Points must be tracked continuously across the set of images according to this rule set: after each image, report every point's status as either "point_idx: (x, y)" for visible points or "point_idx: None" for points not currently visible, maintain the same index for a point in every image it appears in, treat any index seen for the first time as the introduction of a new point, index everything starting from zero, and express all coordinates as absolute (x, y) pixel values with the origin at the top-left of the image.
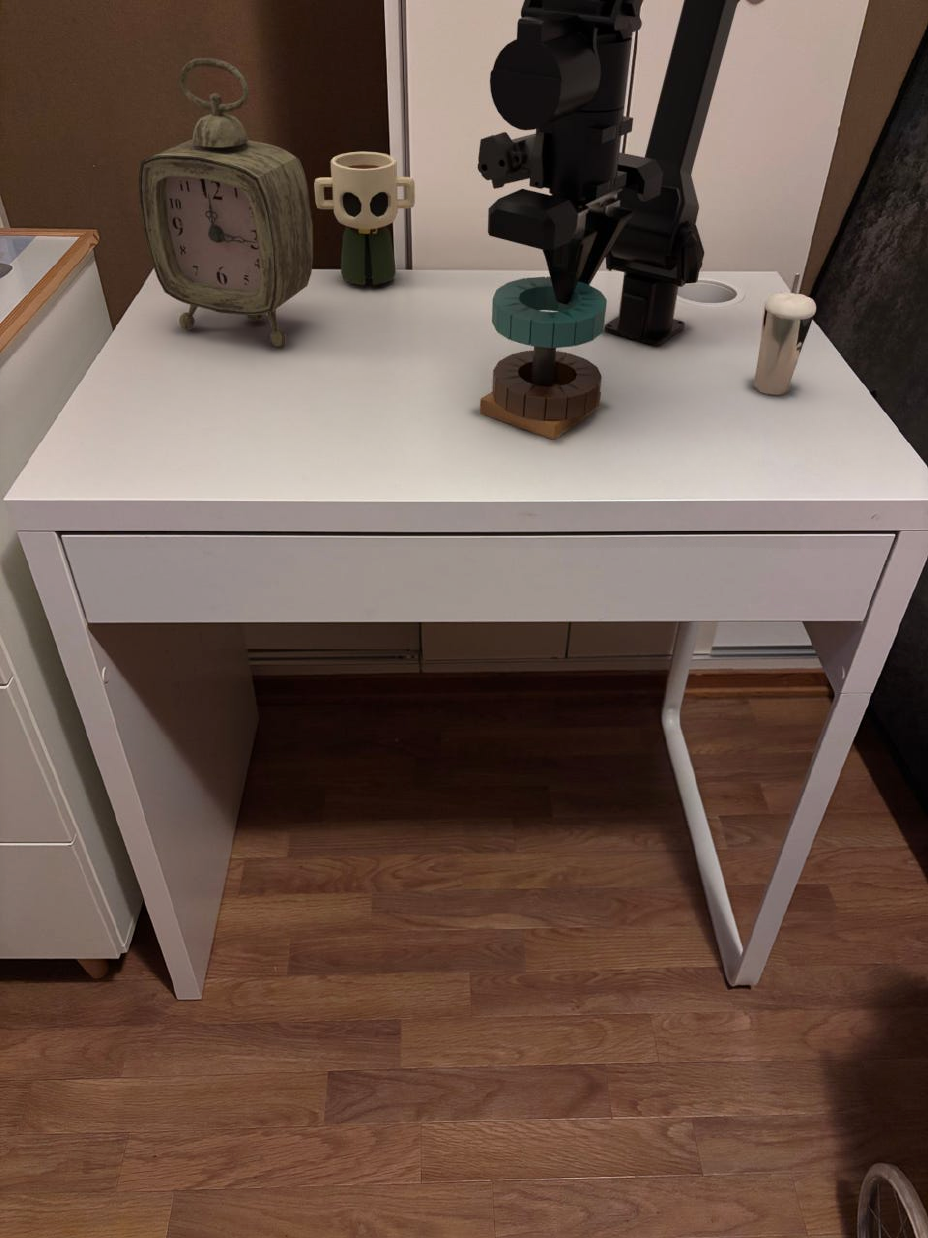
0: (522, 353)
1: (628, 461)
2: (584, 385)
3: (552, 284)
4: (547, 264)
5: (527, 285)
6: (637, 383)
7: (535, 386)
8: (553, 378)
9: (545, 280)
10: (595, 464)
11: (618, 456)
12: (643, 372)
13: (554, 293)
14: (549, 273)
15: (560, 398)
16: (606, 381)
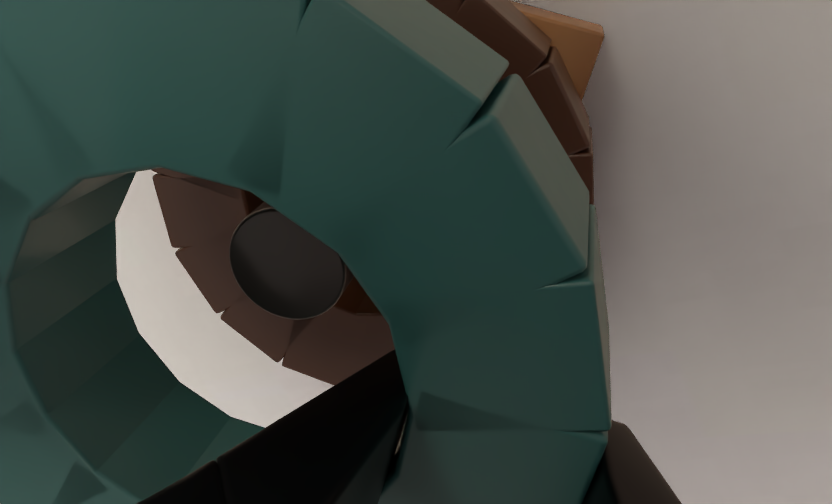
0: (503, 42)
1: (242, 419)
2: (326, 351)
3: (322, 393)
4: (187, 475)
5: (330, 177)
6: (723, 401)
7: (231, 192)
8: None
9: (497, 290)
10: (187, 352)
11: (252, 396)
12: (827, 411)
13: (369, 364)
14: (264, 429)
15: (203, 292)
16: (708, 306)
